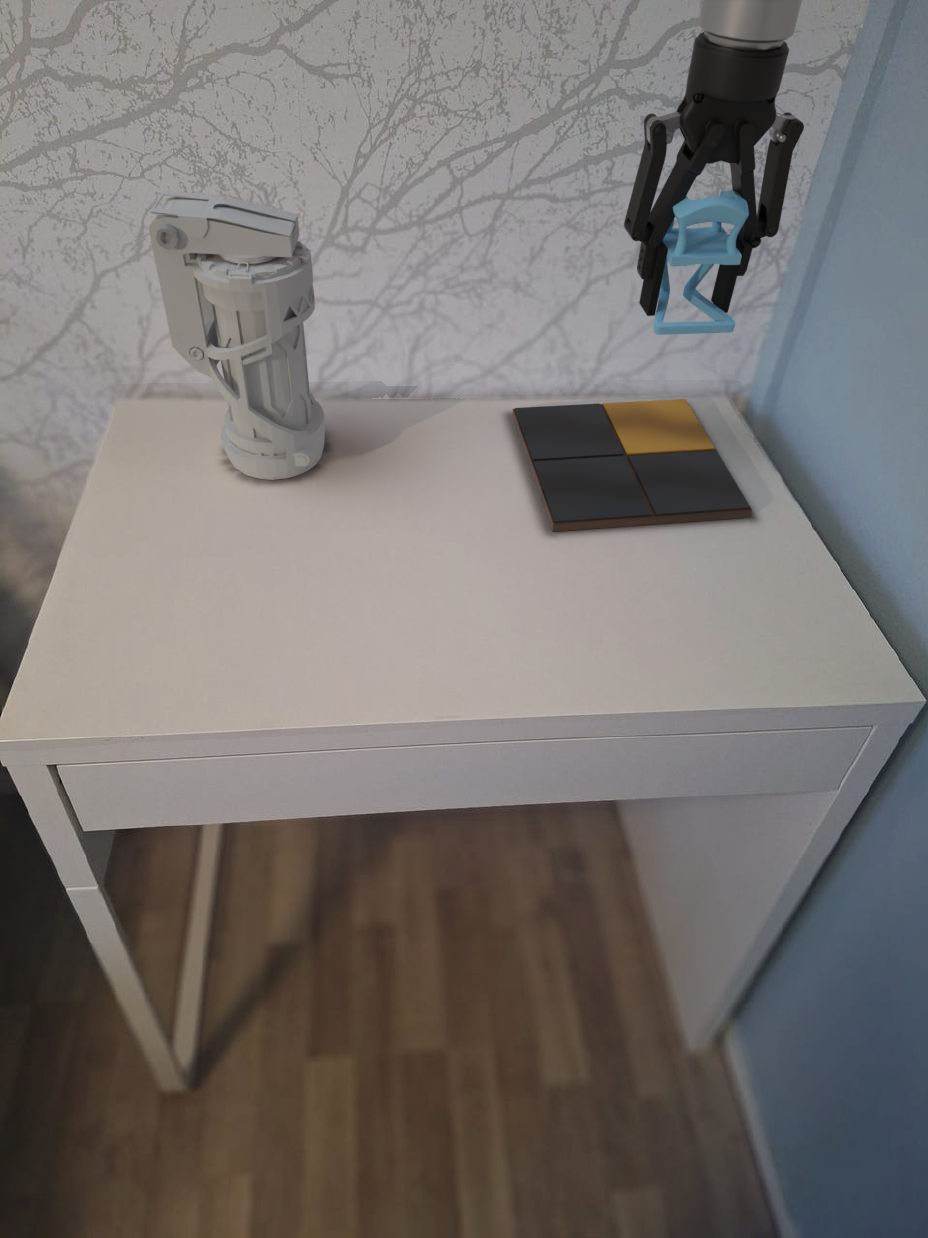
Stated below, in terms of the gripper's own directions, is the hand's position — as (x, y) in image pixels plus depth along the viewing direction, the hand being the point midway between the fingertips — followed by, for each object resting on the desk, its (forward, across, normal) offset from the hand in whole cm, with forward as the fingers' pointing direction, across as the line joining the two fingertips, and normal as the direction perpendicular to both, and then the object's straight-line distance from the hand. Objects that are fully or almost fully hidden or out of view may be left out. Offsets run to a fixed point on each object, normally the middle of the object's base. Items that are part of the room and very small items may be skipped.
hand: (683, 307), depth 90 cm
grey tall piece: (+15, +42, -1) cm, 45 cm away
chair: (+1, 0, 0) cm, 1 cm away
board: (+15, +5, +5) cm, 16 cm away
